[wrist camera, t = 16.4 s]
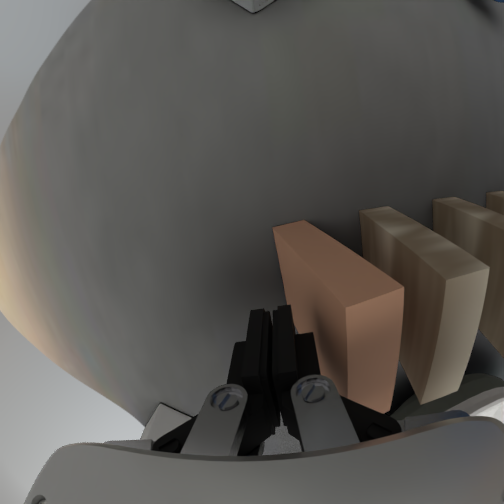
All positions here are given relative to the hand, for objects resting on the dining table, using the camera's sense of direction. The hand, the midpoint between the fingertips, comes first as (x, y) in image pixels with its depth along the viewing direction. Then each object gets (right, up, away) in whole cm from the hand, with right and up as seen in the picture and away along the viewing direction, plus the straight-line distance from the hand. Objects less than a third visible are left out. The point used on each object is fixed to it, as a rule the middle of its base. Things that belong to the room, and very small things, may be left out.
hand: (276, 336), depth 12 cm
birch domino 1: (+7, +3, +6) cm, 10 cm away
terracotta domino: (+2, +2, +6) cm, 7 cm away
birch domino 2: (+12, +4, +5) cm, 14 cm away
